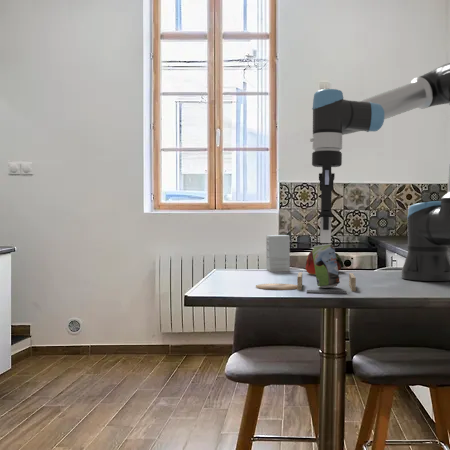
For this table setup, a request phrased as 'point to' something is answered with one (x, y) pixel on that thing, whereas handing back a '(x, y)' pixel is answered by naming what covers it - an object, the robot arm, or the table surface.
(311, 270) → the dark red rounded pieces
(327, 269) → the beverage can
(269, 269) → the supplement box
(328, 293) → the pad
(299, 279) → the channel
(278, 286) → the coaster
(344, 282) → the table surface
